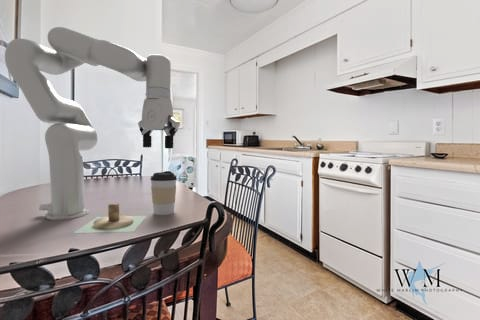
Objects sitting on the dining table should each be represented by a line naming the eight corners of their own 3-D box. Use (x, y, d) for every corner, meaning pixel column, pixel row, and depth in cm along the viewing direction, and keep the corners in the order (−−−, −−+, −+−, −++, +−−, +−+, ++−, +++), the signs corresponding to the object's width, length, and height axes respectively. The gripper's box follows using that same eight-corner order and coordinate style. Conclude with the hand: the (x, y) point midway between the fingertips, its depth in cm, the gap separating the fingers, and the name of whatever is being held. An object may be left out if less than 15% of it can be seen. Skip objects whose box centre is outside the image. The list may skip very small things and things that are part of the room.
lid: (86, 229, 73) (86, 209, 73) (102, 218, 84) (101, 200, 84) (127, 228, 75) (127, 208, 74) (137, 218, 86) (137, 200, 85)
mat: (72, 234, 71) (72, 233, 71) (97, 217, 87) (97, 216, 87) (133, 232, 73) (133, 231, 73) (146, 216, 89) (146, 215, 89)
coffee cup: (169, 217, 88) (169, 173, 87) (145, 216, 90) (145, 173, 89) (180, 211, 97) (180, 171, 96) (158, 209, 98) (158, 170, 98)
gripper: (130, 94, 85) (130, 147, 86) (170, 91, 77) (169, 148, 78) (148, 98, 92) (147, 147, 93) (186, 95, 84) (185, 148, 85)
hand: (157, 147), depth 85 cm, fingers open, 9 cm apart
